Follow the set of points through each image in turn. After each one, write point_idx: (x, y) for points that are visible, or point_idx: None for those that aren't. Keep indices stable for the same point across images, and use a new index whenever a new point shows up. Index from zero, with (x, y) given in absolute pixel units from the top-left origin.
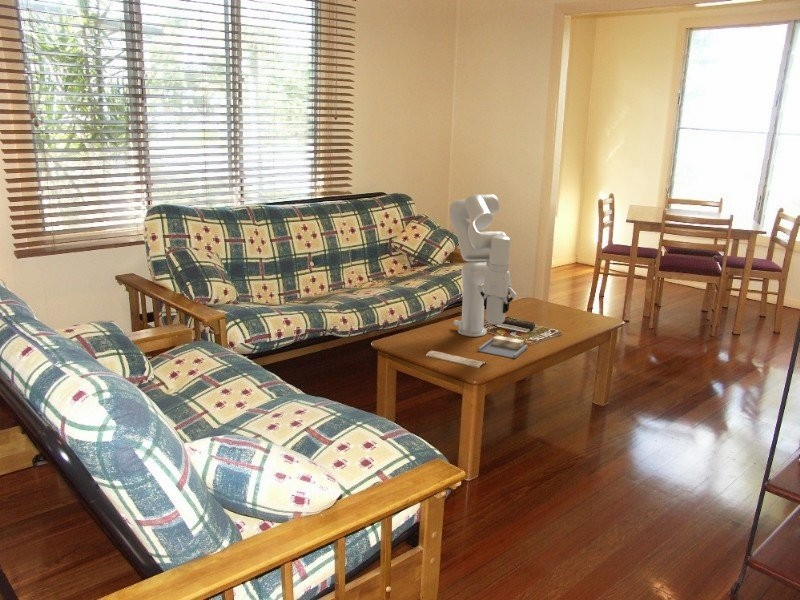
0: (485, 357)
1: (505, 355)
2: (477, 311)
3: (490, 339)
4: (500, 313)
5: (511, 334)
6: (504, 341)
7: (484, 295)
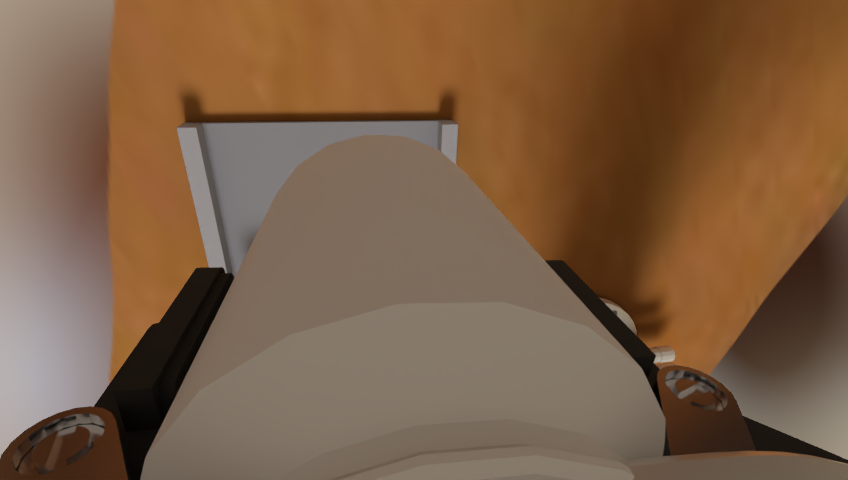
0: (369, 37)
1: (265, 131)
2: None
3: None
4: (260, 231)
5: None
6: None
7: (746, 444)
